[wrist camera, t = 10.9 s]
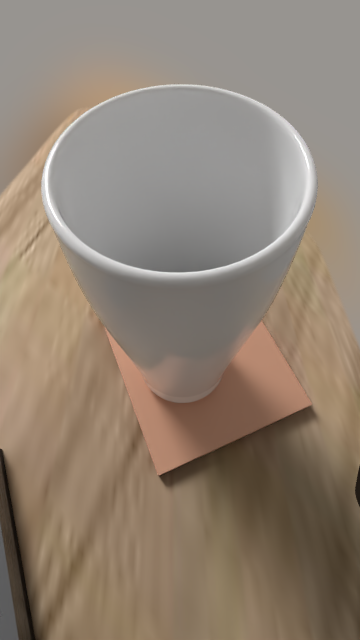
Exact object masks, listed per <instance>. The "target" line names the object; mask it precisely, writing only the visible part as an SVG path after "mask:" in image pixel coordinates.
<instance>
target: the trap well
mask: <svg viewBox="0 0 360 640" xmlns="http://www.w3.org/2000/svg"><path fill="white" fill-rule="evenodd" d="M0 640H35V636H34V631H33V625H32V619H31V614H30V608H29V602H28V596H27V591H26V585H25V579H24V573H23V568H22V562H21V556H20V551H19V545H18V539H17V533H16V528H15V522H14V516H13V510H12V505H11V499H10V493H9V488H8V482H7V476H6V470H5V465H4V459H3V453H2V449H0Z"/></svg>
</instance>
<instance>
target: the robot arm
mask: <svg viewBox="0 0 360 640" xmlns="http://www.w3.org/2000/svg"><path fill="white" fill-rule="evenodd" d="M355 494H356V498H357V501H358V504H359V506H360V466H359V471H358V477H357V482H356V487H355Z"/></svg>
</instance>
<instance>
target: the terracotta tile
mask: <svg viewBox="0 0 360 640" xmlns="http://www.w3.org/2000/svg"><path fill="white" fill-rule="evenodd" d="M105 330H106V333H107V335H108V338H109V341H110V344H111V346H112V349H113V352H114V355H115V358H116V360H117V363H118V366H119V369H120V371H121V374H122V377H123V380H124V382H125V385H126V388H127V391H128V394H129V396H130V399H131V402H132V405H133V407H134V410H135V413H136V416H137V418H138V421H139V424H140V427H141V429H142V432H143V435H144V438H145V441H146V443H147V446H148V449H149V452H150V454H151V457H152V460H153V463H154V465H155V468H156V471H157V474H158V476H160V475H163V474H165V473H167V472H169V471H171V470H173V469H176V468H178V467H180V466H182V465H184V464H186V463H188V462H191V461H193V460H195V459H197V458H199V457H201V456H204V455H206V454H208V453H210V452H212V451H214V450H216V449H219V448H221V447H223V446H225V445H227V444H229V443H232V442H234V441H236V440H238V439H240V438H242V437H245V436H247V435H249V434H251V433H253V432H255V431H257V430H260V429H262V428H264V427H266V426H268V425H270V424H273V423H275V422H277V421H279V420H281V419H283V418H285V417H288V416H290V415H292V414H294V413H296V412H298V411H301V410H303V409H305V408H307V407H309V406H310V405H312V403H311V401H310V400H309V398H308V396H307V395H306V393H305V391H304V390H303V388H302V386H301V385H300V383H299V381H298V380H297V378H296V376H295V375H294V373H293V371H292V370H291V368H290V367H289V365H288V363H287V362H286V360H285V358H284V357H283V355H282V353H281V352H280V350H279V348H278V347H277V345H276V343H275V342H274V340H273V338H272V337H271V335H270V333H269V332H268V330H267V328H266V327H265V325H264V324H263V322H262V320H261V322H260V324H259V325H258V326H257V328H256V329H255V331H254V332H253V334H252V335H251V336H250V338H249V339H248V340H247V342H246V343H245V344H244V346H243V347H242V349H241V350H240V351H239V353H238V354H237V355H236V357H235V358H234V360H233V361H232V362H231V364H230V365H229V367H228V368H227V369H226V371H225V372H224V375H223V377H222V379H221V381H220V383H219V384H218V386H217V387H216V388H215V389H214V390H213V391H212V392H211V393H210V394H209V395H207V396H206V397H204V398H202V399H200V400H198V401H195V402H190V403H174V402H170V401H167V400H165V399H162V398H161V397H159V396H157V395H156V394H155V393H154V392H152V391H151V390H150V389H149V387H148V386H147V385H146V383H145V382H144V380H143V378H142V376H141V373H140V372H139V371H138V369H137V368H136V367H135V365H134V364H133V363H132V361H131V360H130V359H129V358H128V356H127V355H126V354H125V352H124V351H123V350H122V349H121V347H120V346H119V345H118V344H117V342H116V341H115V340H114V338H113V337H112V336H111V335H110V333H109V332H108V331H107V329H106V328H105Z"/></svg>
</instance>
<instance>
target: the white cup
mask: <svg viewBox="0 0 360 640" xmlns="http://www.w3.org/2000/svg"><path fill="white" fill-rule="evenodd" d="M317 186H318V181H317V171H316V167H315V163H314V160H313V157H312V154H311V152H310V150H309V148H308V146H307V144H306V143H305V141H304V140H303V138H302V137H301V135H300V134H299V133H298V132H297V131H296V129H295V128H294V127H293V126H291V124H290V123H289V122H288V121H287V120H285V119H284V118H283V117H282V116H281V115H279V114H278V113H277V112H275V111H273V110H272V109H271V108H269V107H267V106H266V105H264V104H262V103H260V102H258V101H256V100H254V99H252V98H249V97H246V96H244V95H241V94H239V93H236V92H232V91H229V90H225V89H221V88H215V87H210V86H202V85H187V84H181V85H180V84H174V85H162V86H153V87H147V88H142V89H138V90H134V91H131V92H127V93H125V94H121V95H118V96H116V97H113V98H111V99H108V100H106V101H104V102H102V103H100V104H98V105H97V106H95V107H93V108H91V109H90V110H88V111H87V112H85V113H84V114H82V115H81V116H80V117H79V118H77V119H76V120H75V121H74V122H73V123H72V124H71V125H69V126H68V127H67V128H66V130H65V131H64V132H63V133H62V134H61V135H60V137H59V138H58V139H57V141H56V142H55V144H54V145H53V147H52V149H51V151H50V153H49V155H48V157H47V160H46V162H45V166H44V170H43V175H42V199H43V205H44V209H45V212H46V215H47V218H48V220H49V222H50V224H51V226H52V228H53V230H54V233H55V235H56V237H57V240H58V242H59V244H60V247H61V249H62V251H63V253H64V256H65V258H66V260H67V262H68V264H69V267H70V269H71V271H72V273H73V275H74V277H75V279H76V281H77V283H78V285H79V287H80V289H81V290H82V292H83V294H84V296H85V297H86V299H87V301H88V302H89V304H90V306H91V307H92V309H93V311H94V312H95V314H96V315H97V317H98V318H99V320H100V321H101V323H102V324H103V325H104V327H105V328H106V329H107V331H108V332H109V333H110V335H111V336H112V337H113V338H114V340H115V341H116V342H117V344H118V345H119V346H120V347H121V349H122V350H123V351H124V352H125V354H126V355H127V356H128V358H129V359H130V360H131V361H132V363H133V364H134V365H135V367H136V368H137V369H138V371H139V372H140V373H141V376H142V378H143V380H144V382H145V383H146V385H147V386H148V387H149V389H150V390H151V391H152V392H154V393H155V394H156V395H157V396H159V397H161V398H162V399H165V400H167V401H170V402H174V403H190V402H195V401H198V400H200V399H202V398H204V397H206V396H207V395H209V394H210V393H211V392H212V391H213V390H214V389H215V388H216V387H217V386H218V384H219V383H220V381H221V379H222V377H223V375H224V372H225V371H226V369H227V368H228V367H229V365H230V364H231V362H232V361H233V360H234V358H235V357H236V355H237V354H238V353H239V351H240V350H241V349H242V347H243V346H244V344H245V343H246V342H247V340H248V339H249V338H250V336H251V335H252V334H253V332H254V331H255V329H256V328H257V326H258V325H259V324H260V322H261V320H262V319H263V317H264V316H265V314H266V313H267V311H268V310H269V308H270V306H271V304H272V303H273V301H274V299H275V297H276V295H277V293H278V291H279V289H280V287H281V285H282V283H283V281H284V279H285V277H286V275H287V273H288V271H289V269H290V266H291V264H292V262H293V260H294V257H295V255H296V252H297V250H298V248H299V245H300V242H301V240H302V237H303V235H304V232H305V229H306V227H307V224H308V222H309V220H310V218H311V215H312V213H313V210H314V207H315V202H316V197H317Z"/></svg>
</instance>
